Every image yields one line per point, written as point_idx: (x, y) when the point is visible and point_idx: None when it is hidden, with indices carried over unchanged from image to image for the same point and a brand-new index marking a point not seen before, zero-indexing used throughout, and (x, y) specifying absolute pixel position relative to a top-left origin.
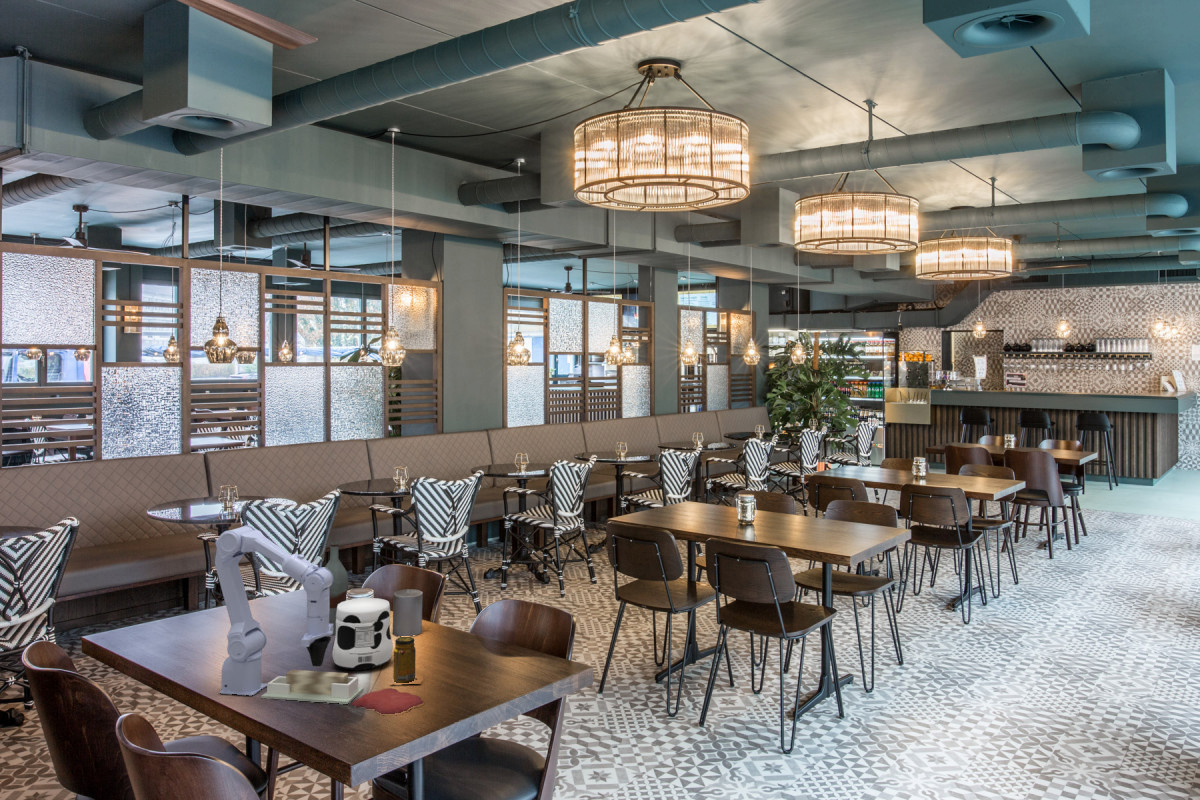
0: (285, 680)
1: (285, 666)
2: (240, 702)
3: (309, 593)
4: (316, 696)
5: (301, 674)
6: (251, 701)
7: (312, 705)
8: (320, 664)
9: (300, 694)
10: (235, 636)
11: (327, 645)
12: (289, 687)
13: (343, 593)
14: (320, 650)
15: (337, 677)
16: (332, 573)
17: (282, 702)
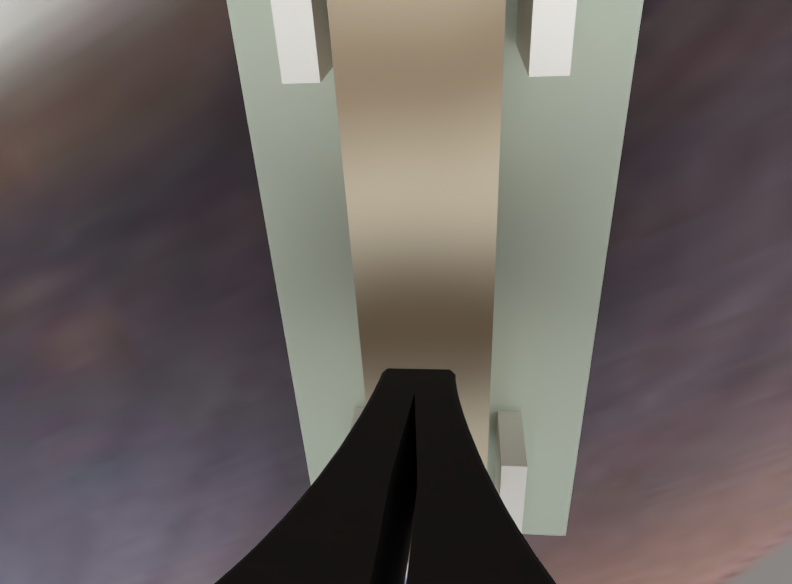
0: None
1: (53, 580)
2: (625, 580)
3: None
4: (538, 198)
5: (487, 460)
6: (606, 544)
7: (680, 156)
8: (444, 379)
9: (511, 337)
10: None
11: (249, 566)
12: (508, 446)
13: None
14: (547, 575)
15: (503, 38)
16: None
17: (616, 393)
